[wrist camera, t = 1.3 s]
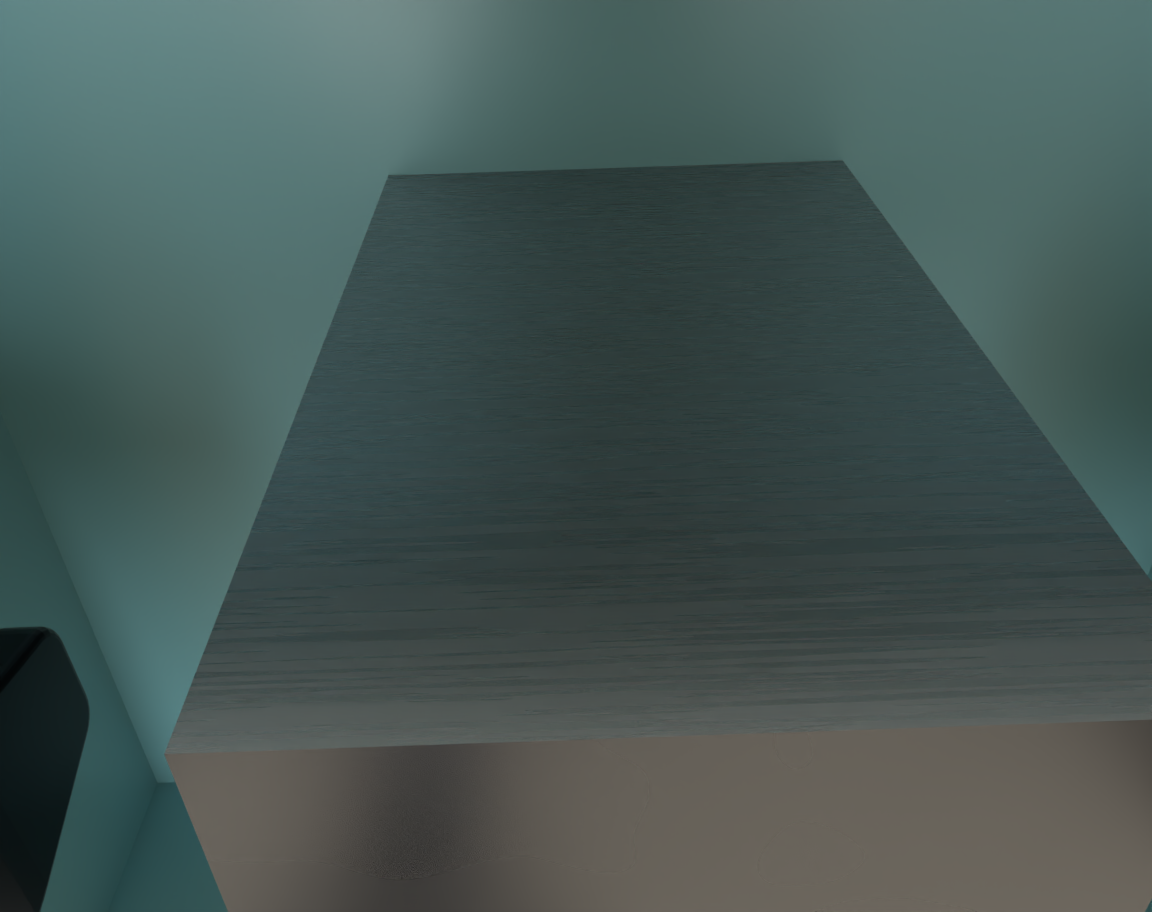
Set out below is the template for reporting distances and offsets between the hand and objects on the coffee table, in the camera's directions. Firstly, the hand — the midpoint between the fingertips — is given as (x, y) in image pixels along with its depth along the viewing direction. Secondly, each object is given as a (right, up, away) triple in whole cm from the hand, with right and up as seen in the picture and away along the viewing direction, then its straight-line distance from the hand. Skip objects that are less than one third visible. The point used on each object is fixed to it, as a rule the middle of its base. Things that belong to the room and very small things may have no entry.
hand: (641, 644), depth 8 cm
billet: (0, +2, +3) cm, 4 cm away
